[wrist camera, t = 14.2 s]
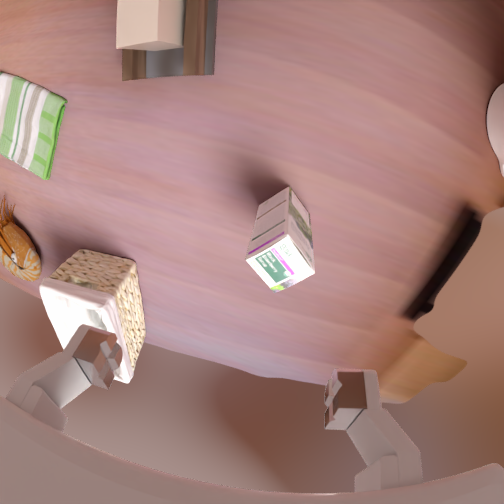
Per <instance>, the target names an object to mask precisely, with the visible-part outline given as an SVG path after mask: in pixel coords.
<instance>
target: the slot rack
mask: <svg viewBox="0 0 504 504" xmlns="http://www.w3.org/2000/svg"><path fill="white" fill-rule="evenodd" d="M217 8H218V0H187V3H186V17H185V34H184V48H175V49H167V50H159V51H148V50H135V49H123V54H122V81H127V80H135V79H144V78H155V77H168V76H186V75H214V59H215V39H216V23H217Z"/></svg>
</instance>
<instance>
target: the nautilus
mask: <svg viewBox="0 0 504 504" xmlns="http://www.w3.org/2000/svg"><path fill="white" fill-rule="evenodd" d="M4 196H5V195H4ZM4 200H5V197H4ZM2 202H3V200H2ZM11 206H12V205H11ZM14 206H15V205H14ZM1 207H2V203H1ZM7 208H8V205H7ZM8 210H9V209H8ZM13 210H14V207H13ZM4 211H5V201H4V208H3V215H5V213H6V212H5V213H4ZM10 211H11V209H10ZM10 211H9V217H8V216H7V214H6V216H4V219H5V218H6V219H5V220H2V215H1V209H0V218H1V221H0V223H1V225H0V261H1V262H2V264H3V265H4V266H5V267H6V268H7V269H8V270H9V271H10V272H11V273H12V274H13V275H14V276H16V277H18V278H20V279H23V280H27V281H35V280H36V279H38V278H39V276H40V274H41V260H40V258H39V256H38V254H37V253H36V249H35V247H34V245H33V243H32V241H31V240H30V238H29V237H28V236H27V234H26V233H25V232H24V231H23V230H22V229H20V228H19V227H18V226H17V225H16V224H15V223H14V220H13V217H11V219H10ZM12 214H13V211H12ZM12 220H13V221H12ZM1 227H2V228H1Z"/></svg>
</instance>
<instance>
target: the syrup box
mask: <svg viewBox="0 0 504 504" xmlns="http://www.w3.org/2000/svg"><path fill="white" fill-rule="evenodd" d="M245 260H246V261H247V262H248V263H249V264H250V265H251V267H252V268H253V269H254V270H255V271H256V272H257V274H258V275H259V276H260V277H261V278H262V279H263V280H264V282H265V283H266V284H267V285H268V286H269V287H270V288H271V290H272V291H273V292H274V293H276V292H278V291H281V290H283V289H285V288H287V287H290V286H292V285H294V284H296V283H298V282H300V281H302V280H303V279H305V278H307V277H309V276H310V275H312V274H314V273H315V267H314V254H313V243H312V232H311V222H310V214H309V213H308V211H307V210H306V209H305V207H304V206H303V205H302V203H301V202H300V200H299V199H298V198H297V196H296V195H295V193H294V192H293V191H292V189H291V188H290V187H287V188H285V189H284V190H282V191H281V192H279V193H277V194H276V195H274V196H273V197H271V198H269V199H268V200H266V201H265V202H263V203H262V204H260V205H259V206H258V211H257V215H256V219H255V223H254V227H253V231H252V235H251V238H250V242H249V246H248V250H247V254H246V258H245Z"/></svg>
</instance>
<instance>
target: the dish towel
mask: <svg viewBox="0 0 504 504" xmlns="http://www.w3.org/2000/svg"><path fill="white" fill-rule="evenodd" d="M64 103H67V100H66V99H64V98H63V97H61V96H58V95H56V94H54V93H52V92H50V91H48V90H46V89H45V88H43V87H42V86H39V85H36V84H34V83H31V82H29V81H27V80H25V79H23V78H21V77H19V76H14V75H10V74H7V73H3V72H0V154H1V155H3V156H5V157H6V158H8V159H10V160H12V161H14V162H15V163H17V164H18V165H20V166H21V167H23V168H25V169H27V170H29V171H31V172H33V173H34V174H36V175H37V176H39V177H41V178H42V179H43V180H49V178H50V172H51V169H52V163H53V158H54V153H55V149H56V144H57V139H58V134H59V129H60V125H61V122H62V118H63V114H64V110H65V105H64Z"/></svg>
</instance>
